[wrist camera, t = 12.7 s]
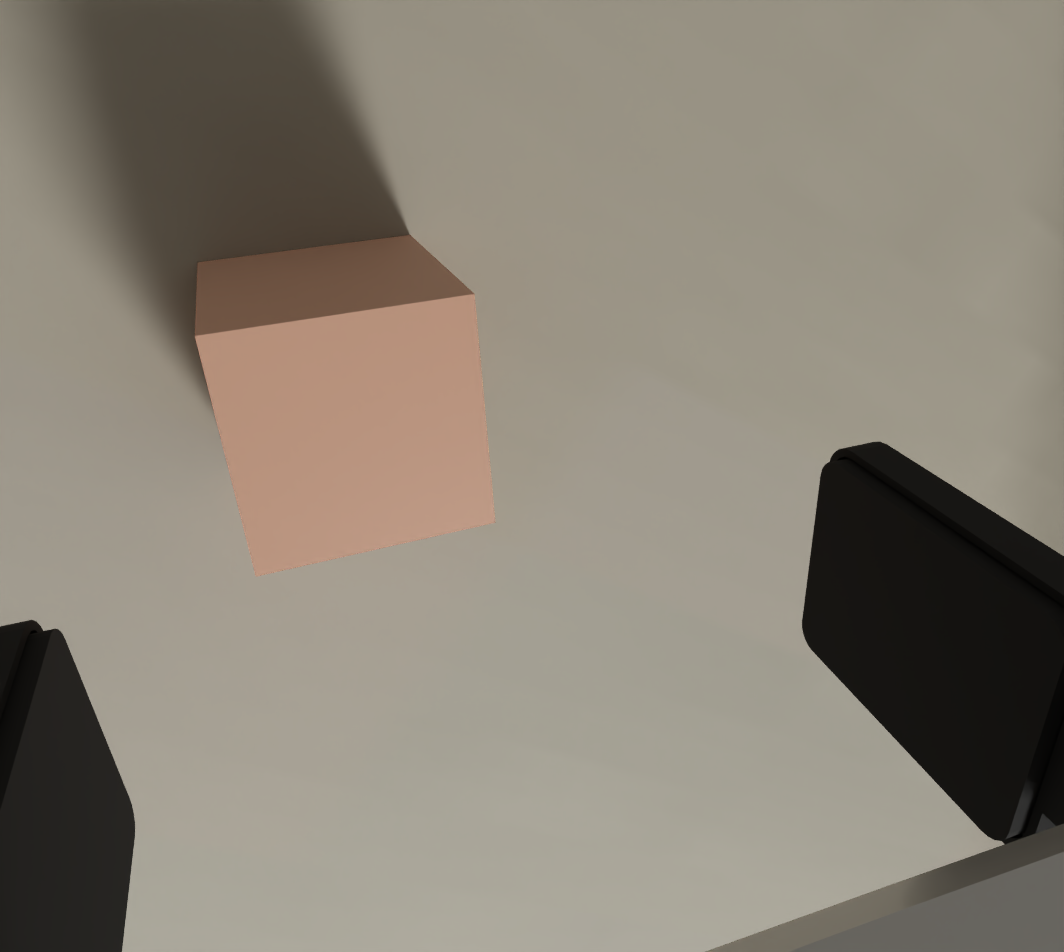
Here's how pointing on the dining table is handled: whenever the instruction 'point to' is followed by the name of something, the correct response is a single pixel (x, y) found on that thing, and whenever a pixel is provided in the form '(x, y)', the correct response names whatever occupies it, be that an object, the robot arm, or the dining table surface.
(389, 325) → the block terracotta
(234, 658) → the dining table surface
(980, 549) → the robot arm
